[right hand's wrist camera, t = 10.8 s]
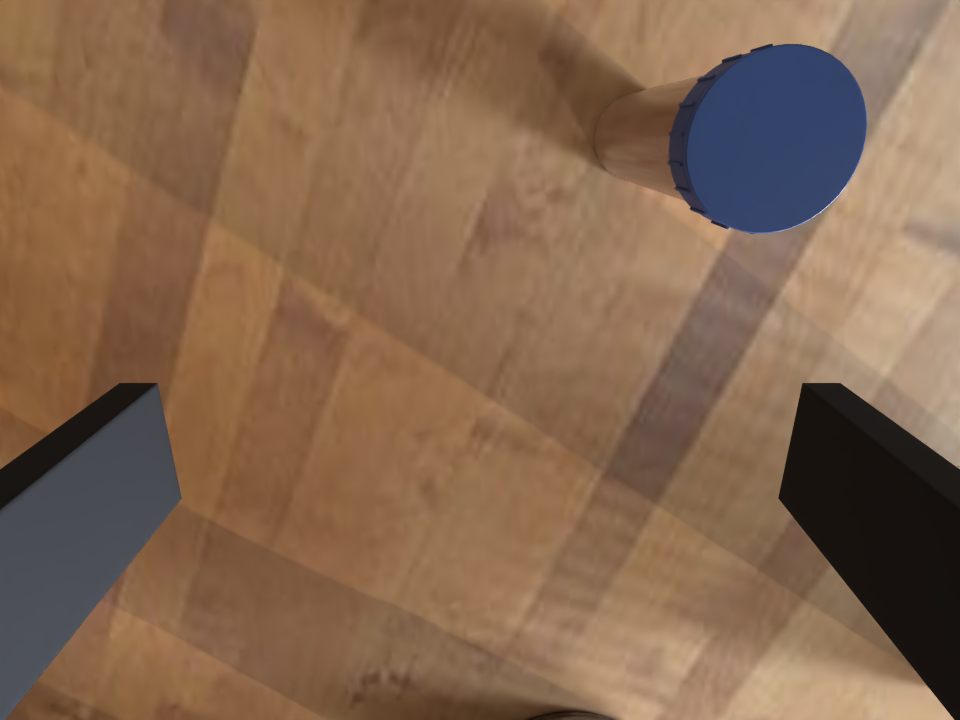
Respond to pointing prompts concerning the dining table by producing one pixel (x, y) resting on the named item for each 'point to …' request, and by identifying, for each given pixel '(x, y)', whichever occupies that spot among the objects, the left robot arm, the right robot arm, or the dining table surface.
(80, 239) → the dining table surface
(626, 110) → the jar
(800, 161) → the lid
